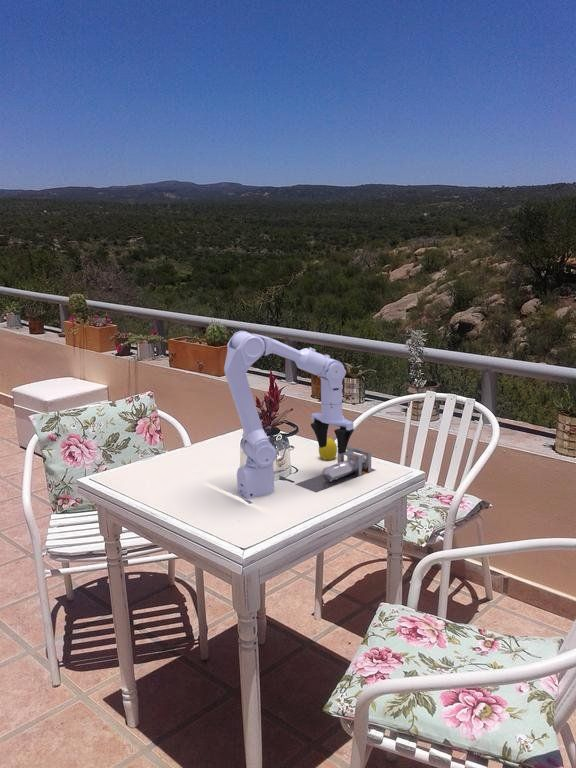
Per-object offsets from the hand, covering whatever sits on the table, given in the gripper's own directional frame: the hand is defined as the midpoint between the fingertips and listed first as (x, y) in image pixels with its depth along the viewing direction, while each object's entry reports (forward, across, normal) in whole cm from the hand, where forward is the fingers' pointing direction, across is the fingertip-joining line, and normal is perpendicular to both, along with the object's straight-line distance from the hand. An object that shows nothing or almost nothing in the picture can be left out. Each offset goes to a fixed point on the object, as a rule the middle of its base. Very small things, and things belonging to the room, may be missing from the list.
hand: (332, 449), depth 182 cm
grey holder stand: (+9, 0, -2) cm, 10 cm away
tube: (+8, 0, -4) cm, 9 cm away
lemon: (+10, +13, -10) cm, 19 cm away
